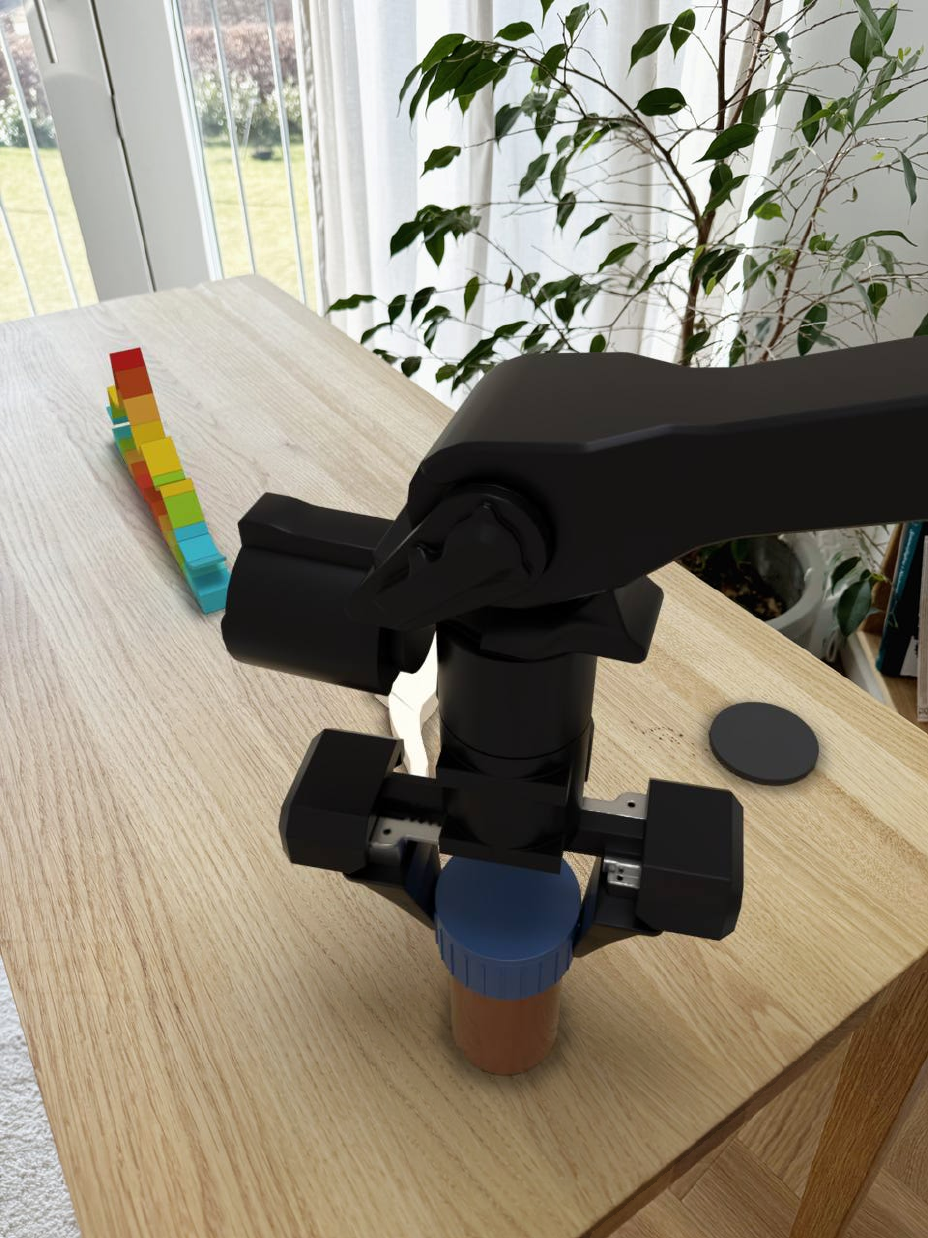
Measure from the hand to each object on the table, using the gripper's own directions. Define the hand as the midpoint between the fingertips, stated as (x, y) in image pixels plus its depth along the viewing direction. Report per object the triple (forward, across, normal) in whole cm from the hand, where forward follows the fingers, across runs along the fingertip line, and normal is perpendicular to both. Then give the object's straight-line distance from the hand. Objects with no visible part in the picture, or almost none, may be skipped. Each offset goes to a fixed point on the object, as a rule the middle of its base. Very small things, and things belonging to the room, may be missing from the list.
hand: (507, 935), depth 46 cm
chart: (+8, +38, -41) cm, 57 cm away
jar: (+8, 0, 0) cm, 8 cm away
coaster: (+8, -14, -23) cm, 28 cm away
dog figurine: (+8, +12, -23) cm, 27 cm away
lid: (0, 0, 0) cm, 0 cm away
